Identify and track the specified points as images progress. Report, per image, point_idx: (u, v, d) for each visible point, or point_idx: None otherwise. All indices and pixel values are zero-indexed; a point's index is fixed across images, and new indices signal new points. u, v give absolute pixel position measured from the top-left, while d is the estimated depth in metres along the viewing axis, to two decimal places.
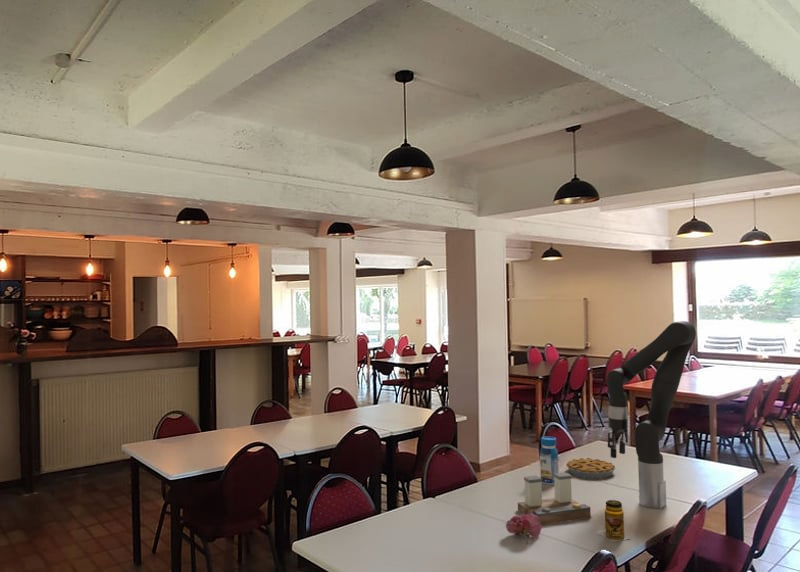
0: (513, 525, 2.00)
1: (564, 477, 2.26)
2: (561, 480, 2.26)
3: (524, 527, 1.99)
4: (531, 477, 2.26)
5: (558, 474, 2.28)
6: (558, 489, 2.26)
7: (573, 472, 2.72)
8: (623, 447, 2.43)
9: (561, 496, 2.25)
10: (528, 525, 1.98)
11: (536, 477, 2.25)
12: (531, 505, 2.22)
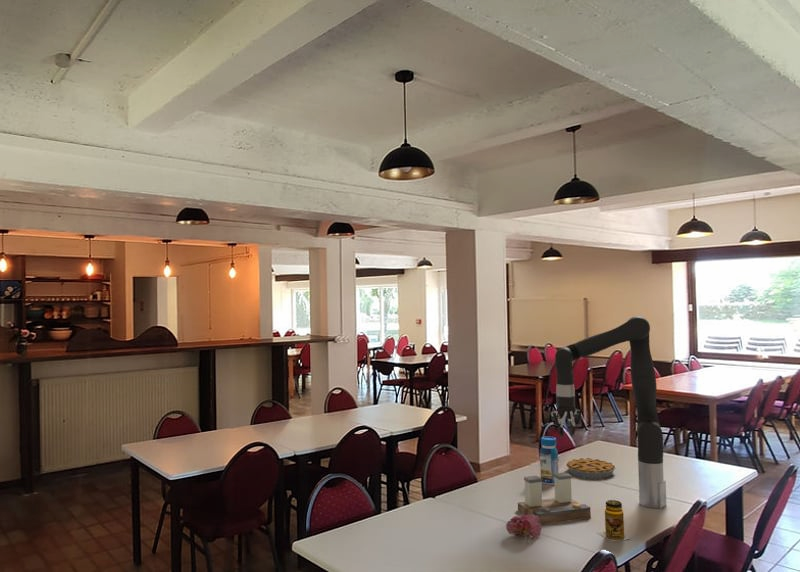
0: (513, 526, 2.00)
1: (564, 477, 2.26)
2: (561, 480, 2.26)
3: (524, 528, 1.99)
4: (531, 477, 2.26)
5: (558, 474, 2.28)
6: (558, 489, 2.26)
7: (573, 472, 2.72)
8: None
9: (561, 496, 2.25)
10: (528, 526, 1.98)
11: (536, 477, 2.25)
12: (531, 505, 2.22)
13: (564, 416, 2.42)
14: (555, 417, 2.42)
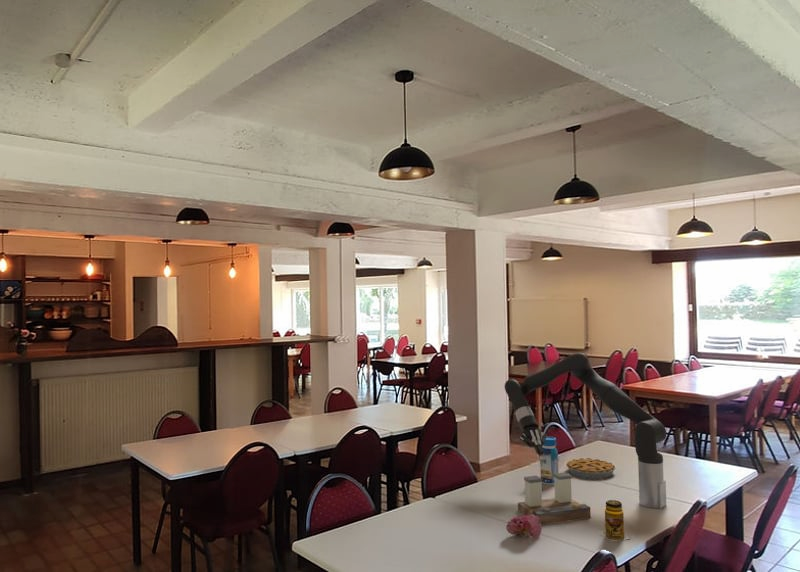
0: (513, 526, 1.99)
1: (564, 477, 2.26)
2: (561, 480, 2.26)
3: (524, 528, 1.98)
4: (531, 477, 2.26)
5: (558, 474, 2.28)
6: (558, 489, 2.26)
7: (573, 472, 2.72)
8: None
9: (561, 496, 2.25)
10: (529, 526, 1.98)
11: (536, 477, 2.25)
12: (531, 505, 2.22)
13: (532, 434, 2.48)
14: (525, 437, 2.47)
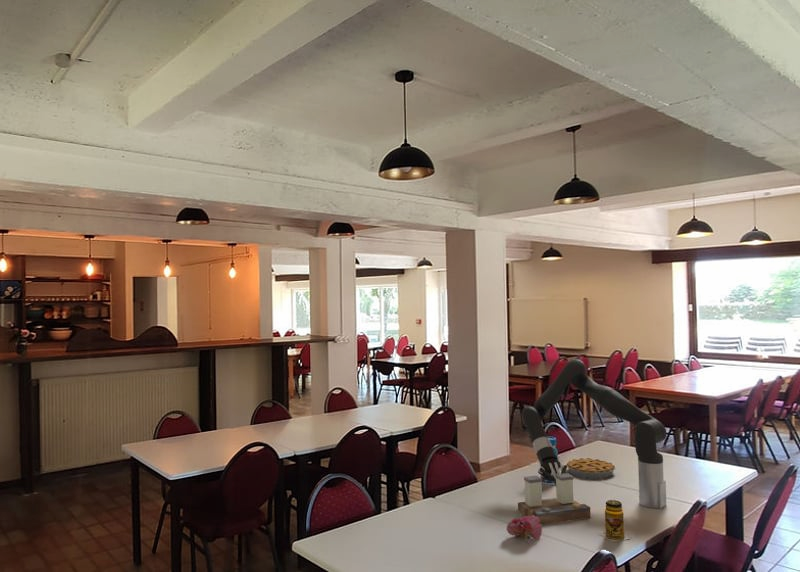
0: (514, 527, 1.98)
1: (566, 478, 2.25)
2: (563, 481, 2.24)
3: (525, 529, 1.97)
4: (531, 477, 2.26)
5: (560, 475, 2.27)
6: (560, 490, 2.25)
7: (573, 472, 2.72)
8: None
9: (563, 497, 2.24)
10: (529, 527, 1.97)
11: (536, 477, 2.25)
12: (531, 505, 2.22)
13: (551, 467, 2.34)
14: (544, 471, 2.32)
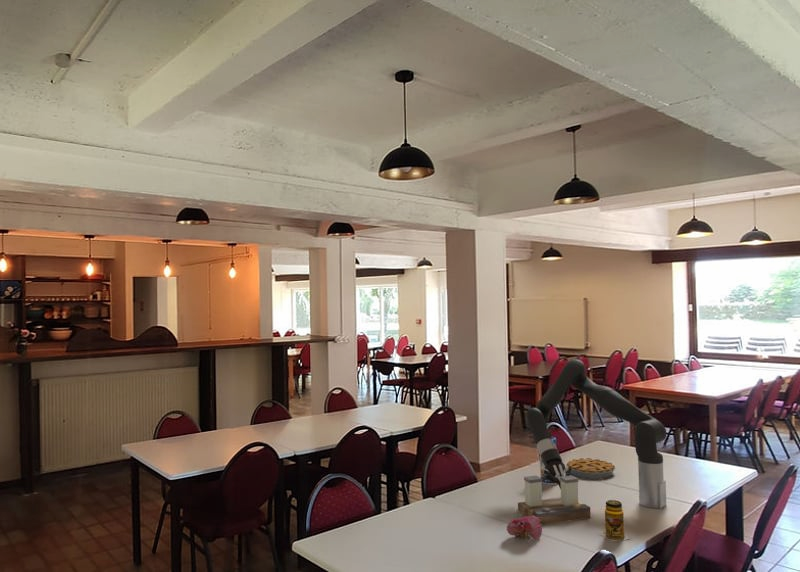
0: (514, 527, 1.98)
1: (571, 480, 2.21)
2: (567, 483, 2.21)
3: (525, 529, 1.97)
4: (531, 477, 2.26)
5: (564, 477, 2.24)
6: (564, 493, 2.22)
7: (573, 472, 2.72)
8: None
9: (568, 500, 2.21)
10: (529, 527, 1.96)
11: (536, 477, 2.25)
12: (531, 505, 2.22)
13: (555, 470, 2.30)
14: (548, 473, 2.29)
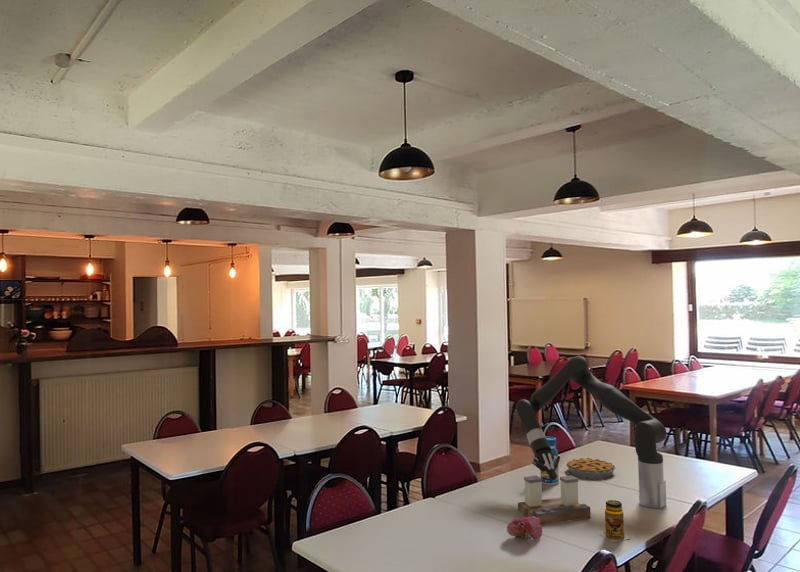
0: (514, 528, 1.98)
1: (571, 480, 2.21)
2: (567, 483, 2.21)
3: (525, 530, 1.97)
4: (531, 477, 2.26)
5: (564, 477, 2.24)
6: (564, 493, 2.22)
7: (573, 472, 2.72)
8: None
9: (568, 500, 2.21)
10: (530, 528, 1.96)
11: (536, 477, 2.25)
12: (531, 505, 2.22)
13: (545, 458, 2.38)
14: (537, 462, 2.37)
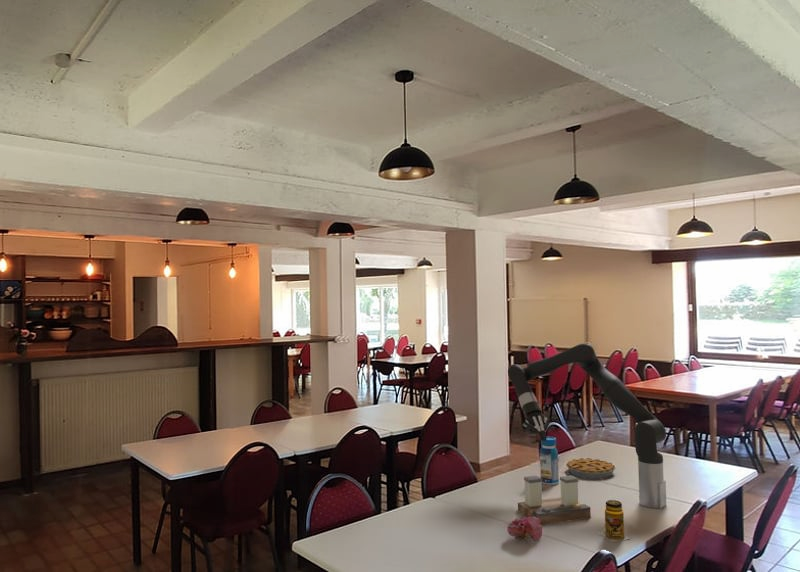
0: (515, 528, 1.97)
1: (571, 480, 2.21)
2: (567, 483, 2.21)
3: (526, 530, 1.96)
4: (531, 477, 2.26)
5: (564, 477, 2.24)
6: (564, 493, 2.22)
7: (573, 472, 2.72)
8: None
9: (568, 500, 2.21)
10: (530, 528, 1.96)
11: (536, 477, 2.25)
12: (531, 505, 2.22)
13: (535, 421, 2.49)
14: (528, 425, 2.49)
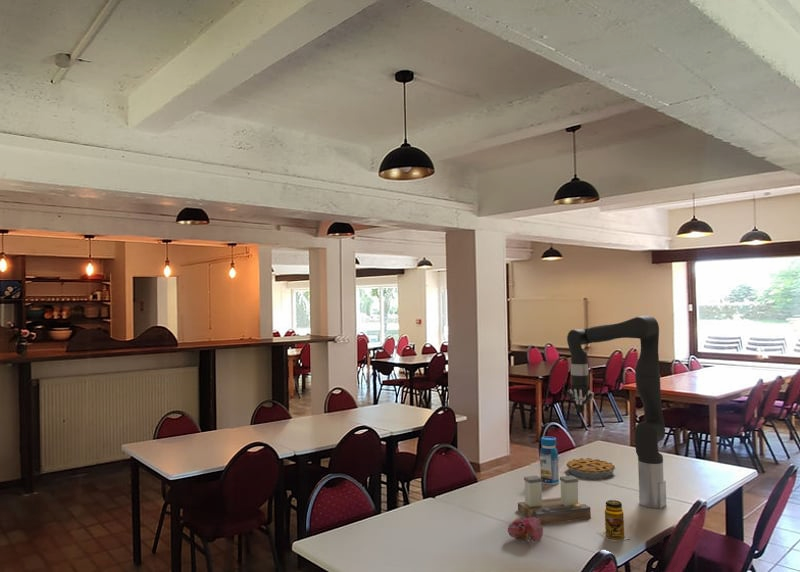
0: (515, 529, 1.97)
1: (571, 480, 2.21)
2: (567, 483, 2.21)
3: (526, 531, 1.96)
4: (531, 477, 2.26)
5: (564, 477, 2.24)
6: (564, 493, 2.22)
7: (573, 472, 2.72)
8: None
9: (568, 500, 2.21)
10: (530, 529, 1.95)
11: (536, 477, 2.25)
12: (531, 505, 2.22)
13: (575, 393, 2.58)
14: (569, 395, 2.60)
